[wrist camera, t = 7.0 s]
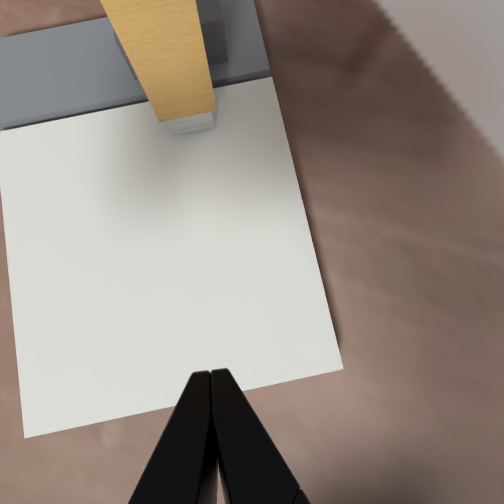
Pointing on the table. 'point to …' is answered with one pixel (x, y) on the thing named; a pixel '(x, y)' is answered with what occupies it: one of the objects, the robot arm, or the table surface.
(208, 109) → the tan square block
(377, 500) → the table surface
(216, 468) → the robot arm
